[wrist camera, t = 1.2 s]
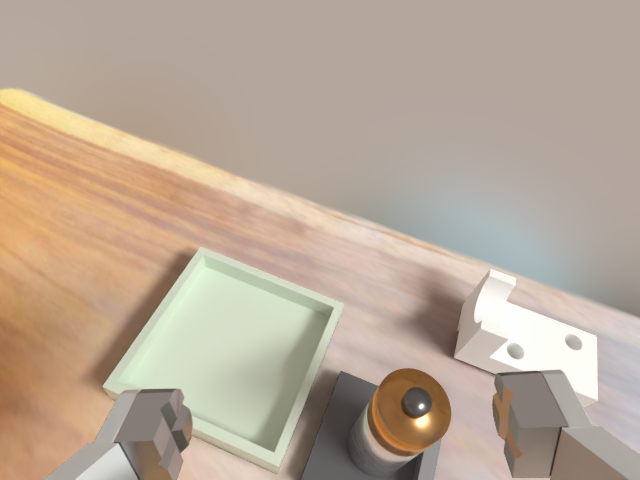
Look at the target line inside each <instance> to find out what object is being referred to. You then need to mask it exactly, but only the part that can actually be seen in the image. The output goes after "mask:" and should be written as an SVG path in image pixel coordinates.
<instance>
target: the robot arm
mask: <svg viewBox="0 0 640 480" xmlns="http://www.w3.org/2000/svg"><path fill="white" fill-rule="evenodd" d="M494 384H495V387H496V390H497V393H496V394H495V395H494V396H493V404H492V406H493V417H494V421H495V426H496V429H497V432H498V435H499V436H500V437H501V438H502V439H504V440H505V446H504V454H505V457H506V460H507V463H508V466H509V469H510V472H511V475H512V478H550V480H640V454H638V453H637V452H636V451H634V450H633V449H631V448H630V447H629V446H627V445H626V444H624V443H623V442H622V441H620V440H619V439H617V438H616V437H615V436H613V435H612V434H610V433H609V432H608V431H606V430H605V429H603V428H602V427H594V426H593V424H592V422H591V420H590V419H589V417H588V415H587V413H586V411H585V409H584V408H583V406H582V404H581V402H580V400H579V398H578V397H577V395H576V393H575V391H574V389H573V387H572V386H571V384H570V382H569V380H568V378H567V376H566V375H565V373H564V372H563V371H562V370H542V371H520V372H503V373H497V374H496V376H495V382H494ZM184 398H185V397H184V395H183V393H182V391H181V389H177V388H176V389H138V390H124V391H123V392H122V393H120V394H119V396H118V398H117V400H116V402H115V403H114V405H113V407H112V409H111V411H110V413H109V415H108V416H107V418H106V420H105V422H104V424H103V426H102V428H101V429H100V431H99V433H98V435H97V437H96V439H95V441H94V442H93V444H87V445H86V446H84V447H83V448H82V449H81V450H79V451H78V452H77V453H76V454H74V455H73V456H72V457H71V458H70V459H68V460H67V461H66V462H65V463H63V464H62V465H61V466H60V467H58V468H57V469H56V470H55V471H53V472H52V473H51V474H50V475H49V476H47V477H46V478H45V479H44V480H177V478H178V475H179V472H180V469H181V466H182V463H183V459H182V456H181V454H180V453H181V452H182V451H183V450H184V449H185V448H186V447H187V446H188V445H189V442H190V439H191V436H192V427H193V421H192V415H191V412H190V409H189V408H188V407H186V406H185V405H183V404H182V403H183V401H184Z"/></svg>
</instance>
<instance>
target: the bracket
mask: <svg viewBox="0 0 640 480" xmlns="http://www.w3.org/2000/svg"><path fill="white" fill-rule="evenodd" d="M515 284H516V278H514V277H511V276H509V275H506V274H503V273H501V272H498V271H495V270H493V269H490V270H489V271H488V273H487V274H486V275H485V277H484V278H483V279H482V280H481V282H480V283H479V284H478V285H477V287H476V288H475V289H474V291H473V292H472V293H471V294H470V296H469V297H468V298H467V300H466V301H465V302H464V303H463V305H462V310H461V315H460V320H459V325H458V330H457V331H458V332H459V334H458V339H457V344H456V349H455V354H454V358H456V359H459V360H461V361H464V362H466V363H469V364H471V365H474V366H476V367H479V368H481V369H483V370H486V371H488V372H491V373H493V374H497V373H503V372H520V371H542V370H562V371H563V372H564V373H565V375H566V376H567V378H568V380H569V382H570V384H571V386H572V387H573V389H574V391H575V393H576V395H577V397H578V398H579V400H580V402H581V404H582V406H583V408H584V407H586V406H588V405H590V404H592V403H594V402H596V401H598V385H597V336H595V335H592V334H590V333H587V332H584V331H582V330H579V329H577V328H574V327H571V326H569V325H566V324H564V323H561V322H558V321H556V320H553V319H550V318H548V317H545V316H543V315H540V314H537V313H535V312H532V311H529V310H527V309H524V308H522V307H519V306H516V305H514V304H511V303H508V302H506V300H507V298H508V296H509V294H510V292H511V291H512V289H513V288H514V287H515Z"/></svg>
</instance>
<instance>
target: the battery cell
mask: <svg viewBox="0 0 640 480" xmlns="http://www.w3.org/2000/svg"><path fill="white" fill-rule="evenodd" d="M450 421H451V407H450V402H449V399H448V397H447V395H446V393H445V391H444V389H443V388H442V386H441V385H440V384H439V383H438V382H437V381H436V380H435V379H434V378H433V377H431V376H430V375H428V374H427V373H425V372H422V371H420V370H416V369H409V368H407V369H399V370H396V371H394V372H392V373H390V374H389V375H388V376H387V377H386V378H385V379H384V380H383V381H382V383H381V384H380V386H379V387H378V388H377V390H376V391H375V393H374V394H373V396H372V398H371V399H370V402H369V403H368V404H367V406H366V407H365V409H364V410H363V412H362V413H361V415H360V416H359V418H358V419H357V421H356V422H355V424H354V425H353V427H352V428H351V430H350V433H349V436H348V450H349V454H350V456H351V459H352V461H353V462H354V464H355V465H356V466H357V467H358V468H359V469H360V470H361V471H362V472H364V473H365V474H367V475H369V476H372V477H386V476H389V475H391V474H393V473H394V472H396V471H397V470H398V469H400V468H401V467H402V466H404V465H405V464H406V463H408V462H409V461H410V460H412V459H413V458H414V457H416V456H417V455H418V454H420V453H422V452H423V451H425V450H426V449H428V448H429V447H430V446H432V445H433V444H434V443H436V442H437V441H438V440H439V439H441V438H442V437H443V436H444V434H445V433H446V431H447V430H448V427H449V425H450Z"/></svg>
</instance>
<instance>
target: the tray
mask: <svg viewBox="0 0 640 480" xmlns="http://www.w3.org/2000/svg"><path fill="white" fill-rule="evenodd" d="M343 306H344V303H341V302H339V301H336V300H334V299H331V298H329V297H326V296H324V295H321V294H319V293H316V292H314V291H311V290H309V289H306V288H304V287H301V286H299V285H296V284H294V283H291V282H289V281H286V280H284V279H281V278H279V277H276V276H274V275H271V274H269V273H266V272H264V271H261V270H259V269H256V268H254V267H251V266H249V265H246V264H244V263H241V262H239V261H236V260H234V259H231V258H229V257H226V256H223V255H221V254H218V253H216V252H213V251H211V250H208V249H206V248H203V247H200V248H199V249H198V251H197V252H196V254H195V255H194V257H193V258H192V259H191V261H190V262H189V264H188V265H187V267H186V268H185V269H184V271H183V272H182V274H181V275H180V276H179V278H178V279H177V281H176V282H175V284H174V285H173V286H172V288H171V289H170V291H169V292H168V294H167V295H166V296H165V298H164V299H163V301H162V302H161V304H160V305H159V306H158V308H157V309H156V311H155V312H154V314H153V315H152V316H151V318H150V319H149V321H148V322H147V323H146V325H145V326H144V328H143V329H142V331H141V332H140V333H139V335H138V336H137V338H136V339H135V341H134V342H133V343H132V345H131V346H130V348H129V349H128V351H127V352H126V353H125V355H124V356H123V358H122V359H121V360H120V362H119V363H118V365H117V366H116V368H115V369H114V370H113V372H112V373H111V375H110V376H109V378H108V379H107V380H106V382H105V383H104V385H103V386H102V387H103V389H104V390H105V391H106V393H107V394H108V396H109V397H110V398H111V399H113V400H115V401H116V400H117V398H118V396H119V394H120V393H122V392H123V391H124V390H138V389H176V388H177V389H181V391H182V393H183V395H184V397H185V398H184V401H183V403H182V404H183V405H185V406H186V407H188V408H189V409H190V412H191V415H192V421H193V427H192V436H194V437H196V438H199V439H201V440H203V441H205V442H207V443H210V444H212V445H214V446H216V447H218V448H221V449H223V450H225V451H227V452H229V453H232V454H234V455H236V456H238V457H240V458H243V459H245V460H247V461H249V462H251V463H254V464H256V465H258V466H260V467H262V468H265V469H267V470H269V471H271V472H273V473H275V474H277V473H278V471H279V468H280V466H281V463H282V461H283V458H284V456H285V453H286V451H287V448H288V446H289V443H290V441H291V438H292V436H293V433H294V431H295V428H296V426H297V423H298V421H299V418H300V416H301V413H302V411H303V408H304V406H305V403H306V401H307V398H308V396H309V393H310V390H311V388H312V385H313V383H314V380H315V378H316V375H317V373H318V370H319V368H320V365H321V363H322V360H323V358H324V355H325V353H326V350H327V348H328V345H329V343H330V340H331V338H332V335H333V333H334V330H335V328H336V325H337V323H338V320H339V318H340V315H341V312H342V309H343Z"/></svg>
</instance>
